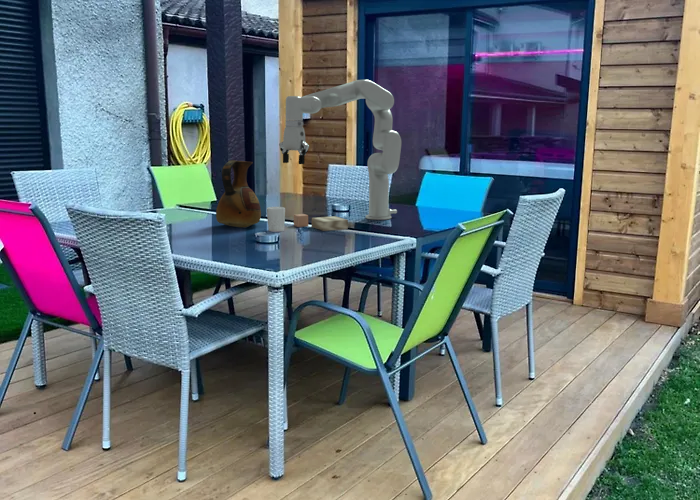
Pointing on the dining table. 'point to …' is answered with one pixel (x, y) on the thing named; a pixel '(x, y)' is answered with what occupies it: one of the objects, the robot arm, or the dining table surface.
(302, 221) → the cube
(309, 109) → the robot arm
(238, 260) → the dining table surface
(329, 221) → the plinth
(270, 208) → the white cup
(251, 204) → the ceramic pitcher
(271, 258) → the dining table surface
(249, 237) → the dining table surface
